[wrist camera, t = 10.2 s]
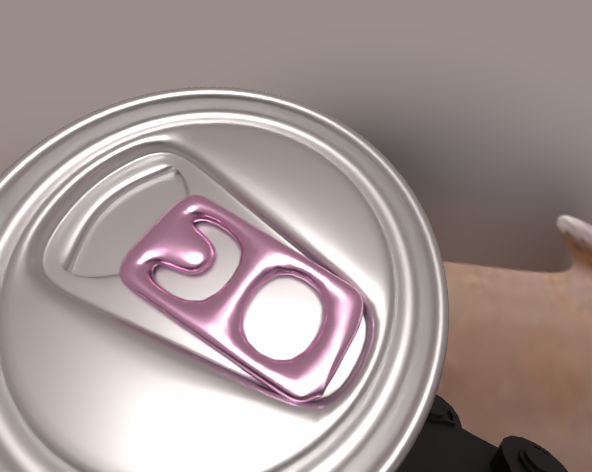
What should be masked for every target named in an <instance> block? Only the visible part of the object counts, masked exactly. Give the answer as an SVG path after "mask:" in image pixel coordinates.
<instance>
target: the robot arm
mask: <svg viewBox="0 0 592 472" xmlns="http://www.w3.org/2000/svg"><path fill="white" fill-rule="evenodd" d="M396 472H568V471H567V470H566V469H565V468H564V466H563V465H562V464H561V463H560V462H559V461H558V460H557V459H556V458H555V457H553V456H552V455H551V454H550V453H549V452H548V451H546V450H545V449H544V448H542V447H541V446H539V445H537V444H536V443H533V442H531V441H529V440H527V439H525V438H522V437H516V436H509V437H506V438H504V439H503V441H502V442H501V444H500V446H499V447H498V448H497V447H495V446H494V445H492V444H490V443H488V442H486V441H484V440H482V439H480V438H478V437H476V436H475V435H473V434H471V433H469V432H468V431H466V430H464V429H463V428H461V423H460V420H459V416H458V415H457V413H456V412H455V411H454V409H453V408H452V407H451V406H450V405H449V404H448V403H447V402H446V401H445V400H444V399H443V398H441V397H439V396H438V395H436V396H435V399H434V402H433V405H432V407H431V410H430V412H429V414H428V417H427V419H426V421H425V424H424V426H423V428H422V430H421V432H420V434H419V436H418V438H417V439H416V441H415V443H414V445H413V447H412V449H411V450H410V452H409V453H408V455H407V457H406V458H405V460H404V461H403V463H402V464H401V466H400V467H399V469H398V470H397V471H396Z"/></svg>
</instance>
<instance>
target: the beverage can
mask: <svg viewBox="0 0 592 472" xmlns="http://www.w3.org/2000/svg"><path fill="white" fill-rule="evenodd" d="M448 328H449V303H448V291H447V283H446V277H445V270H444V266H443V261H442V258H441V253H440V250H439V247H438V244H437V240H436V237H435V235H434V232H433V230H432V227H431V225H430V222H429V220H428V218H427V216H426V214H425V212H424V210H423V208H422V206H421V204H420V203H419V201H418V199H417V197H416V196H415V194H414V192H413V191H412V190H411V188H410V187H409V185H408V184H407V182H406V181H405V179H404V178H403V177H402V176H401V175H400V173H399V172H398V171H397V169H396V168H395V167H394V166H393V165H392V164H391V163H390V162H389V160H388V159H387V158H386V157H385V156H384V155H383V154H382V153H381V152H379V151H378V150H377V149H376V148H375V147H374V146H373V145H372V144H370V143H369V142H368V141H367V140H366V139H365V138H363V137H362V136H361V135H359V134H358V133H356V132H355V131H354V130H352V129H351V128H349V127H348V126H346V125H345V124H343V123H342V122H340V121H338V120H336V119H334V118H333V117H331V116H329V115H327V114H325V113H323V112H321V111H319V110H317V109H315V108H313V107H310V106H308V105H305V104H302V103H300V102H297V101H294V100H291V99H288V98H285V97H281V96H278V95H274V94H269V93H265V92H260V91H254V90H248V89H239V88H229V87H193V88H181V89H173V90H166V91H160V92H154V93H150V94H146V95H142V96H137V97H134V98H130V99H127V100H124V101H121V102H118V103H115V104H112V105H109V106H107V107H104V108H102V109H99V110H97V111H94V112H92V113H90V114H88V115H86V116H83V117H81V118H79V119H77V120H75V121H74V122H72V123H70V124H68V125H66V126H64V127H63V128H61V129H59V130H58V131H56V132H55V133H53V134H51V135H50V136H48V137H47V138H45V139H44V140H42V141H41V142H40V143H38V144H37V145H35V146H34V147H33V148H31V149H30V150H29V151H27V152H26V153H25V154H24V155H22V156H21V157H20V158H19V159H17V160H16V161H15V162H14V163H13V164H12V165H11V166H10V167H9V168H8V169H6V170H5V171H4V172H3V173H2V174H1V175H0V472H396V471H397V470H398V469H399V467H400V466H401V464H402V463H403V461H404V460H405V458H406V457H407V455H408V453H409V452H410V450H411V449H412V447H413V445H414V443H415V441H416V439H417V438H418V436H419V434H420V432H421V430H422V428H423V426H424V424H425V421H426V419H427V417H428V414H429V412H430V410H431V407H432V405H433V402H434V399H435V396H436V393H437V390H438V387H439V383H440V379H441V375H442V371H443V367H444V361H445V355H446V349H447V341H448Z"/></svg>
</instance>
